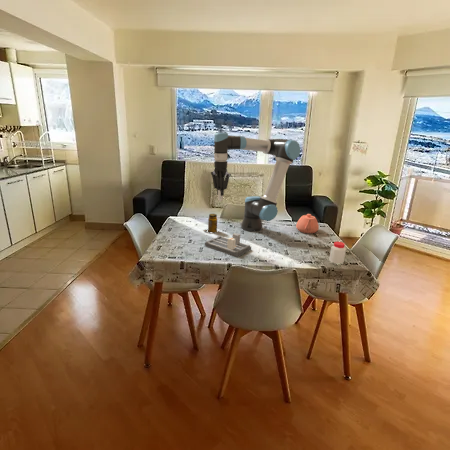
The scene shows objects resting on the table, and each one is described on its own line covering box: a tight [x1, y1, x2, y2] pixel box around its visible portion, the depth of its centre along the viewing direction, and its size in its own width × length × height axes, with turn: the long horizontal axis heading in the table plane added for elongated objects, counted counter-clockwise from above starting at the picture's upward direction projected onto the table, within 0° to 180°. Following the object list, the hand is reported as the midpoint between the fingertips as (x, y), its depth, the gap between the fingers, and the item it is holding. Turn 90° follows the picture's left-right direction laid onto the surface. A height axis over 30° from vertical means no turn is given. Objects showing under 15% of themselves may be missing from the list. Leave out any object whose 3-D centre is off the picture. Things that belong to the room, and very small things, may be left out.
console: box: [204, 232, 252, 258], centre depth 176 cm, size 24×14×8 cm, turn 52°
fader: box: [227, 237, 236, 250], centre depth 170 cm, size 4×3×6 cm
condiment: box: [203, 213, 220, 234], centre depth 202 cm, size 7×8×12 cm
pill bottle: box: [328, 241, 347, 263], centre depth 163 cm, size 8×8×11 cm
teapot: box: [295, 213, 320, 234], centre depth 211 cm, size 22×16×12 cm
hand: (220, 200), depth 179 cm, fingers closed
